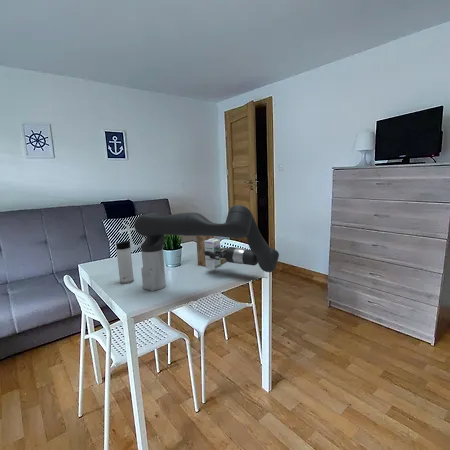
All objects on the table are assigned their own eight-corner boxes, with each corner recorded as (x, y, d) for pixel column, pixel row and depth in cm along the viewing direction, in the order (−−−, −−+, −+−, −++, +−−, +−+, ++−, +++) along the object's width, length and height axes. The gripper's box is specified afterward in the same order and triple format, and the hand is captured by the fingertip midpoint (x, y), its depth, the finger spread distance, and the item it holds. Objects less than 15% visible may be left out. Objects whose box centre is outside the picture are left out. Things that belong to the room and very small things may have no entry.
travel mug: (126, 285, 129) (122, 243, 126) (117, 282, 133) (112, 241, 129) (137, 280, 135) (133, 240, 131) (128, 278, 138) (124, 239, 135)
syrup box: (214, 270, 138) (213, 241, 136) (205, 268, 142) (204, 240, 139) (221, 266, 143) (220, 239, 140) (212, 265, 146) (211, 238, 144)
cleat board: (214, 268, 148) (212, 235, 145) (197, 265, 154) (196, 233, 151) (228, 261, 160) (226, 230, 157) (212, 258, 166) (211, 228, 163)
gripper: (244, 244, 138) (216, 241, 147) (229, 251, 127) (199, 247, 136) (244, 259, 140) (217, 255, 149) (229, 267, 128) (200, 262, 137)
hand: (208, 251), depth 142 cm, fingers closed on syrup box, 6 cm apart
